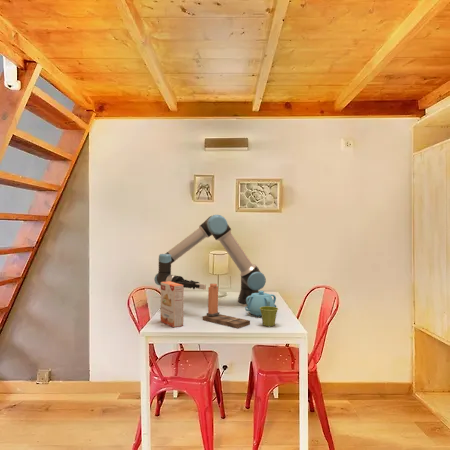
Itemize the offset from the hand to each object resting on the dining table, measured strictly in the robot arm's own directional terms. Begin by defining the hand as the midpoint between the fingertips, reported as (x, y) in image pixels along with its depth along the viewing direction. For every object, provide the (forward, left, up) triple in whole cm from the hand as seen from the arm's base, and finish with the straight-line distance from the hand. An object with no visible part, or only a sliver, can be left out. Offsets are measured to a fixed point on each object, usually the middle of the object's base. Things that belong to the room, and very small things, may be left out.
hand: (204, 287), depth 207 cm
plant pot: (-29, +22, -17) cm, 40 cm away
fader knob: (-4, +5, -14) cm, 15 cm away
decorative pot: (-33, 0, -17) cm, 37 cm away
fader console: (-9, +12, -17) cm, 22 cm away
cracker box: (+19, +9, -17) cm, 27 cm away
